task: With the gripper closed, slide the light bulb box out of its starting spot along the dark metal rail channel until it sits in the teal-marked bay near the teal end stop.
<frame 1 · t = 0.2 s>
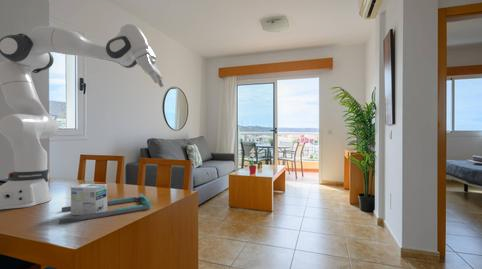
hand: (159, 84, 112), 54 cm above the table, tool tilted 30°, fingers open, 8 cm apart
light bulb box: (89, 213, 93), resting in rail frame
rail frame: (109, 209, 97), on the table
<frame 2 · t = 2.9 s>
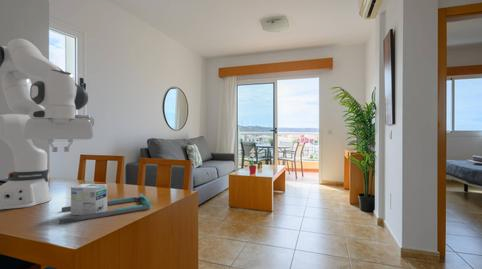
hand: (60, 151, 88), 24 cm above the table, tool pointing down, fingers closed
nothing on the table moved.
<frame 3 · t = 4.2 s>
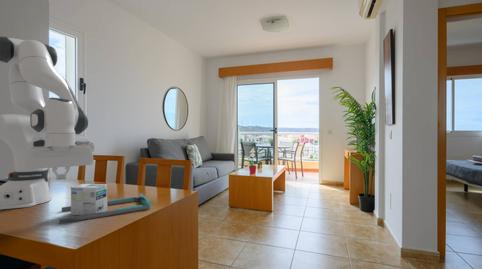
hand: (61, 179, 88), 14 cm above the table, tool pointing down, fingers closed
nothing on the table moved.
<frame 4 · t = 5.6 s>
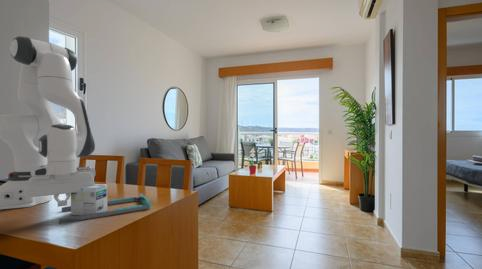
hand: (62, 205, 89), 4 cm above the table, tool pointing down, fingers closed
light bulb box: (89, 213, 93), resting in rail frame, touching gripper
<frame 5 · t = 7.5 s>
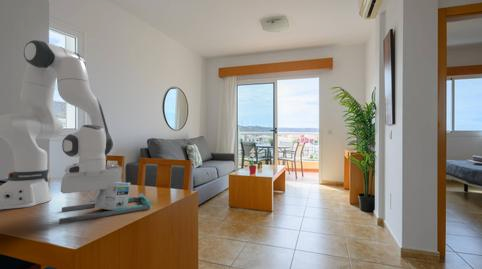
hand: (92, 201, 94), 4 cm above the table, tool pointing down, fingers closed
light bulb box: (110, 209, 97), resting in rail frame, touching gripper
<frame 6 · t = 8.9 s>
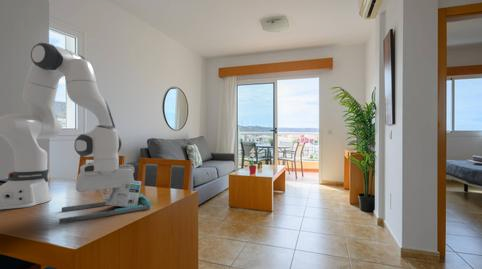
hand: (106, 199, 96), 4 cm above the table, tool pointing down, fingers closed
light bulb box: (120, 206, 99), point 1 cm above the table, touching gripper
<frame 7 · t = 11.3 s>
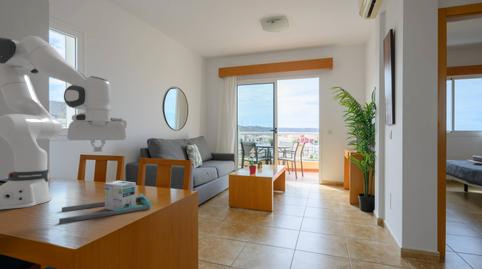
hand: (97, 151, 97), 24 cm above the table, tool pointing down, fingers closed
light bulb box: (120, 208, 99), resting in rail frame
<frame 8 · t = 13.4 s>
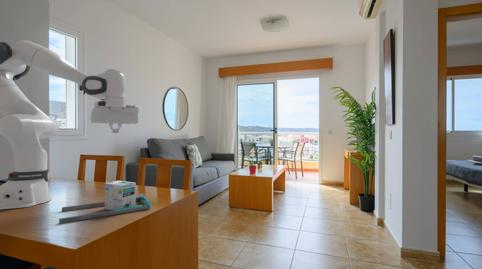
hand: (115, 133, 115), 31 cm above the table, tool pointing down, fingers closed
nothing on the table moved.
at the end: light bulb box inside the target area on the rail frame (2.7 cm from its centre), point 0.0 cm above the rail frame's base; light bulb box tilted 0°; light bulb box moved 10.8 cm from its start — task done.
